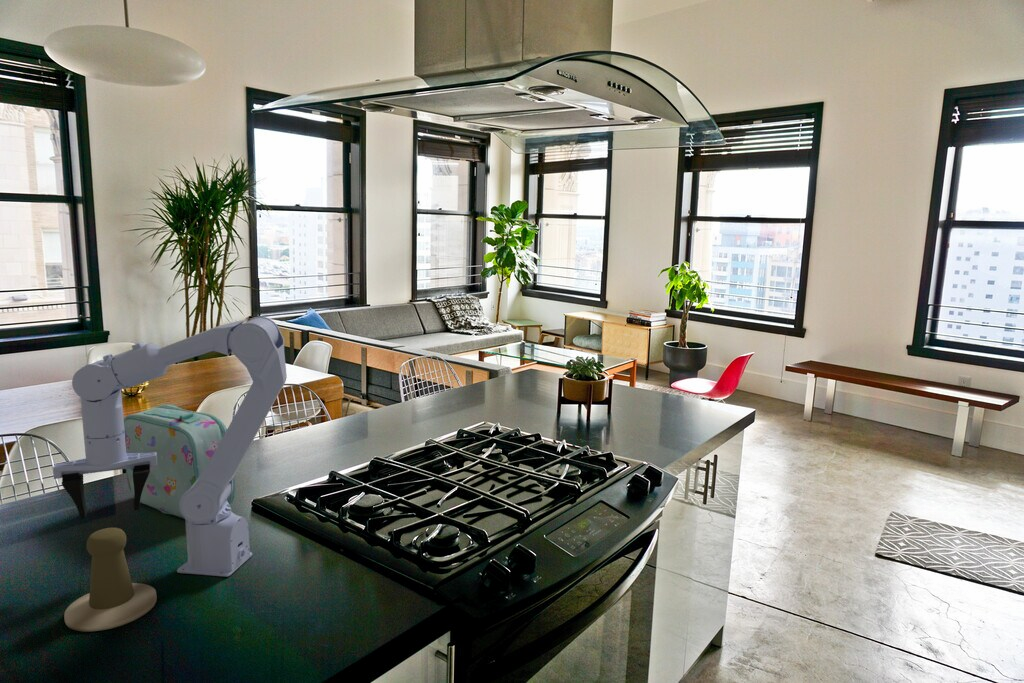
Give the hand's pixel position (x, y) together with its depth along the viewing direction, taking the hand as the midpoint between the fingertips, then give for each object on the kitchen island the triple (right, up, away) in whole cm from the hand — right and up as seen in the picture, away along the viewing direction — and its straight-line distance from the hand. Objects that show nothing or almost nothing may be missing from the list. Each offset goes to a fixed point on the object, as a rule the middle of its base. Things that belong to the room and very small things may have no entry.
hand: (110, 512), depth 110 cm
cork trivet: (+6, -12, -10) cm, 17 cm away
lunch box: (-2, -6, +28) cm, 29 cm away
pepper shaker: (+5, -11, -8) cm, 15 cm away
